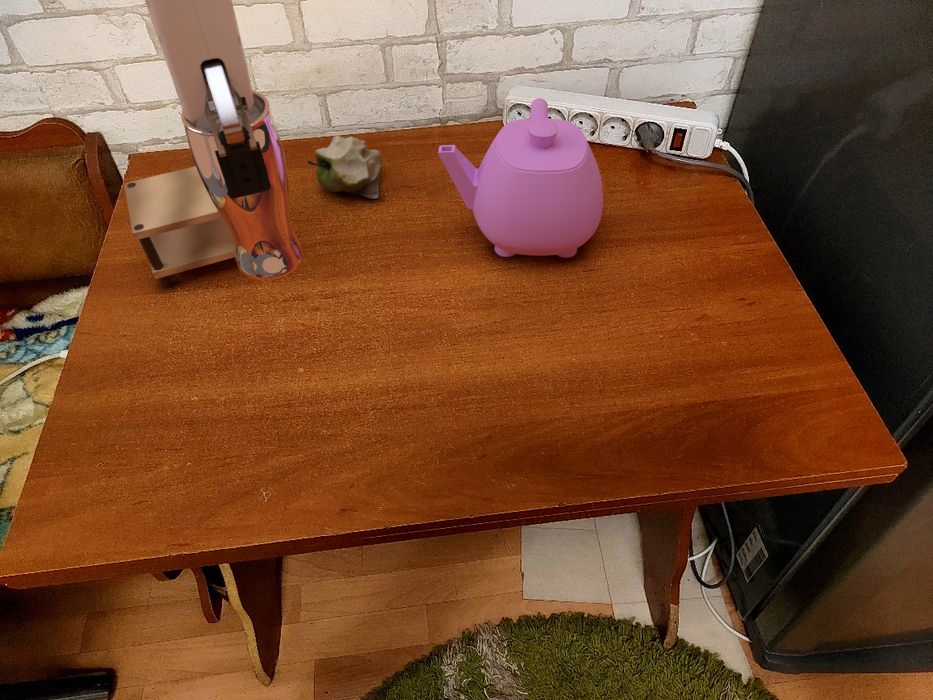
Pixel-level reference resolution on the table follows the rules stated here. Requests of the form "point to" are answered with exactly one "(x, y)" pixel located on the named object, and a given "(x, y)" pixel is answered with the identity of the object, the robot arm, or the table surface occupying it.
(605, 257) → the table surface
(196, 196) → the rack
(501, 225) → the teapot
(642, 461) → the table surface
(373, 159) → the fruit
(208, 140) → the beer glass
